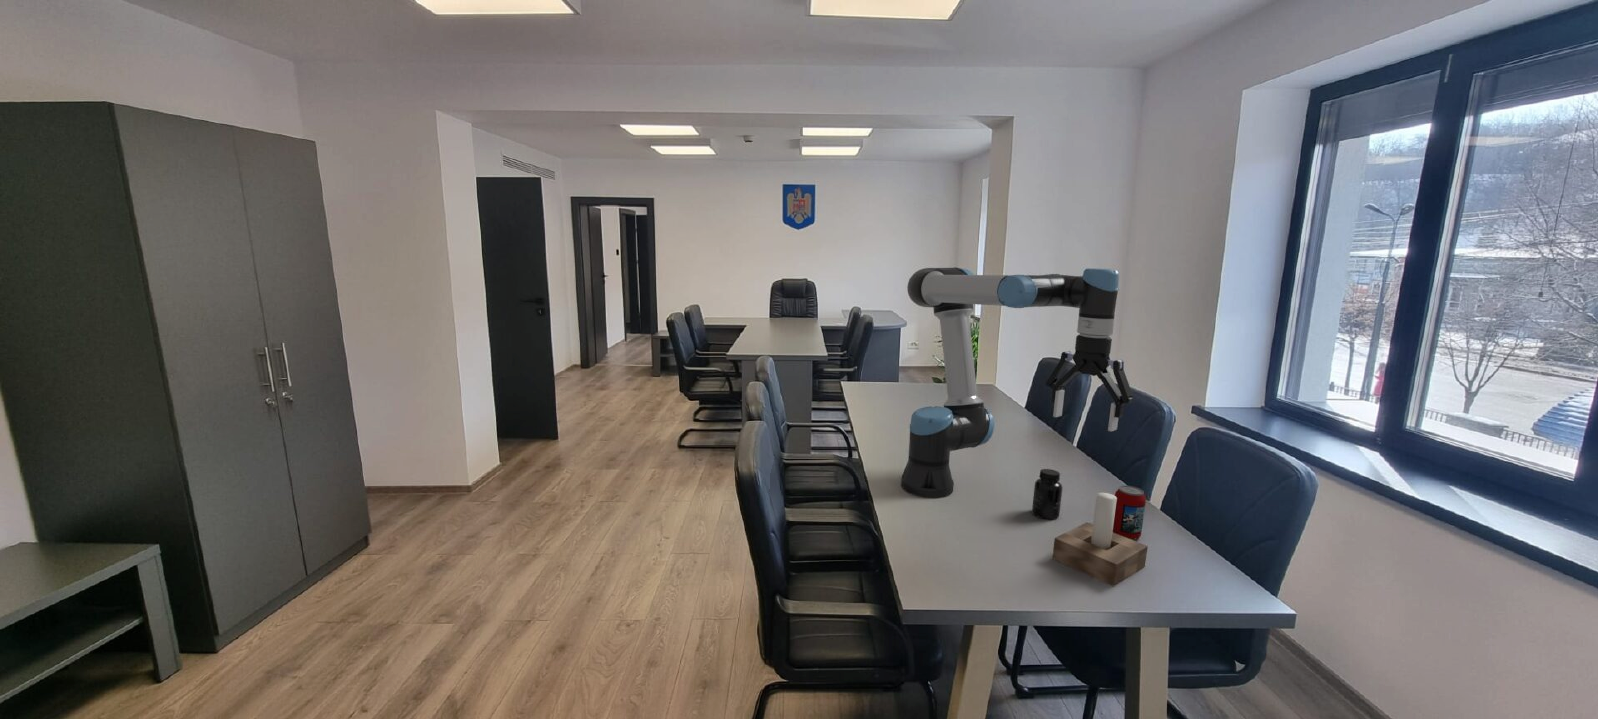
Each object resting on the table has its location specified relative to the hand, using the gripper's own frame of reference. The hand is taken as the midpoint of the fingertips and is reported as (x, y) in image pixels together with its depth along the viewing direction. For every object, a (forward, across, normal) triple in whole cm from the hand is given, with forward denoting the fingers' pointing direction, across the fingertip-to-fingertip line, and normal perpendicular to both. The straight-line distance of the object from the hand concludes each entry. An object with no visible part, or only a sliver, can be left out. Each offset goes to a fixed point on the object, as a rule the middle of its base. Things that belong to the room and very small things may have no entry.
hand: (1083, 423), depth 144 cm
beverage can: (+29, +8, +11) cm, 32 cm away
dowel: (+29, +11, -8) cm, 32 cm away
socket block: (+29, +11, -8) cm, 32 cm away
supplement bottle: (+29, -10, +5) cm, 31 cm away
